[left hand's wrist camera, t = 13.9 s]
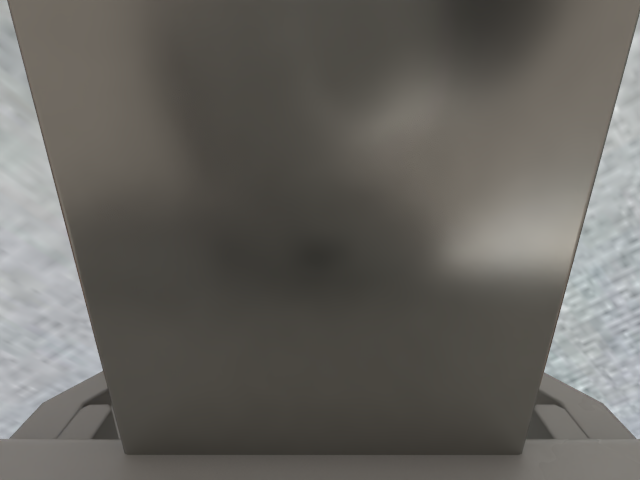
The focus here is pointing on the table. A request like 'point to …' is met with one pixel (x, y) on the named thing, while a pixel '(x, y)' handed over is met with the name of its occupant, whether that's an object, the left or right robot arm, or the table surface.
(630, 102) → the table surface
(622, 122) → the table surface
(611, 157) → the table surface
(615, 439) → the left robot arm
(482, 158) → the bar
